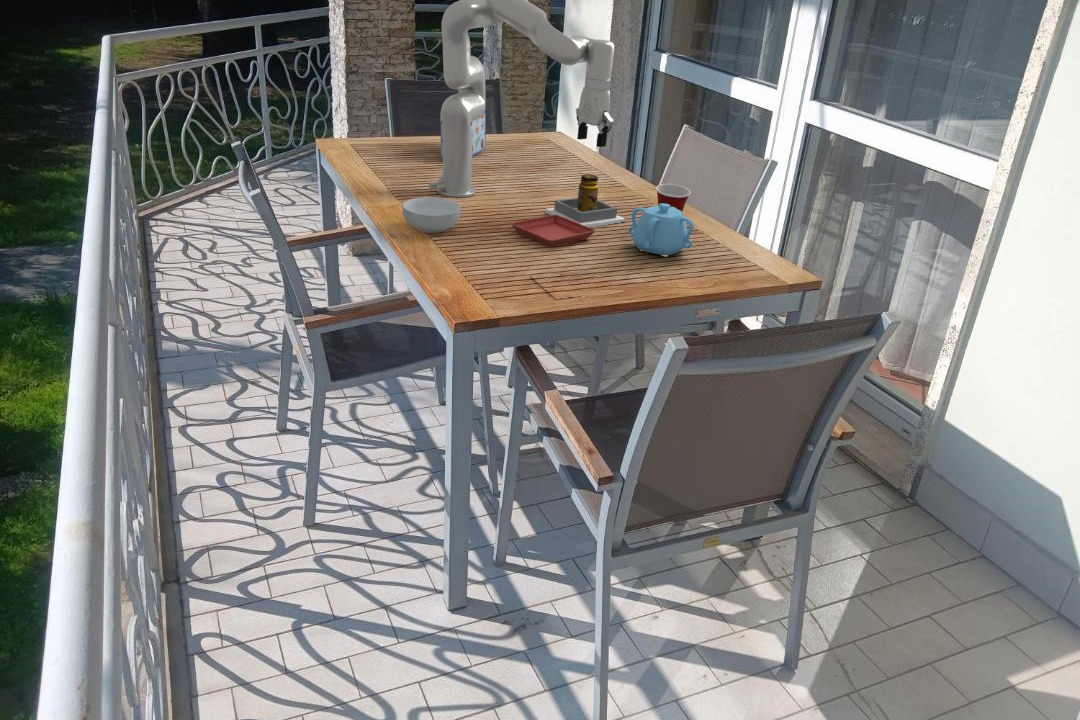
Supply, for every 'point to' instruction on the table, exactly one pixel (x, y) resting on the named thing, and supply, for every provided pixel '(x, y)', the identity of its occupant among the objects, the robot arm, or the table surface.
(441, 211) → the cereal bowl
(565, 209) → the holder
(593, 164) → the table surface
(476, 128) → the lunch box
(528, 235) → the plant saucer
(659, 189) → the plastic cup
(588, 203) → the condiment
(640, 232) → the decorative pot
